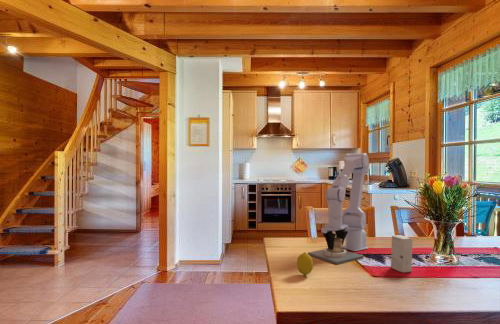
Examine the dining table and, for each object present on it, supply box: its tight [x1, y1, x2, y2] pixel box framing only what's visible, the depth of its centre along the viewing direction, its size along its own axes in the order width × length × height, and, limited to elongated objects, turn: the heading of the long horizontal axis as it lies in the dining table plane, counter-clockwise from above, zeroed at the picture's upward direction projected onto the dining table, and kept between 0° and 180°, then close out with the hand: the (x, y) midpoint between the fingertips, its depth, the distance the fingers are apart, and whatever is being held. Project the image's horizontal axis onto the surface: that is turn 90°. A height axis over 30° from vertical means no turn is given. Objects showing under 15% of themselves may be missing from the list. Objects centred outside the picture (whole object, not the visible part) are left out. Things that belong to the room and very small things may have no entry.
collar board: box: [307, 247, 365, 265], centre depth 132 cm, size 16×16×2 cm
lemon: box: [296, 252, 314, 277], centre depth 109 cm, size 6×6×8 cm
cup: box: [330, 236, 344, 253], centre depth 132 cm, size 5×5×6 cm
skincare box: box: [390, 234, 413, 273], centre depth 116 cm, size 6×4×12 cm
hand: (335, 248), depth 132 cm, fingers closed on cup, 5 cm apart
